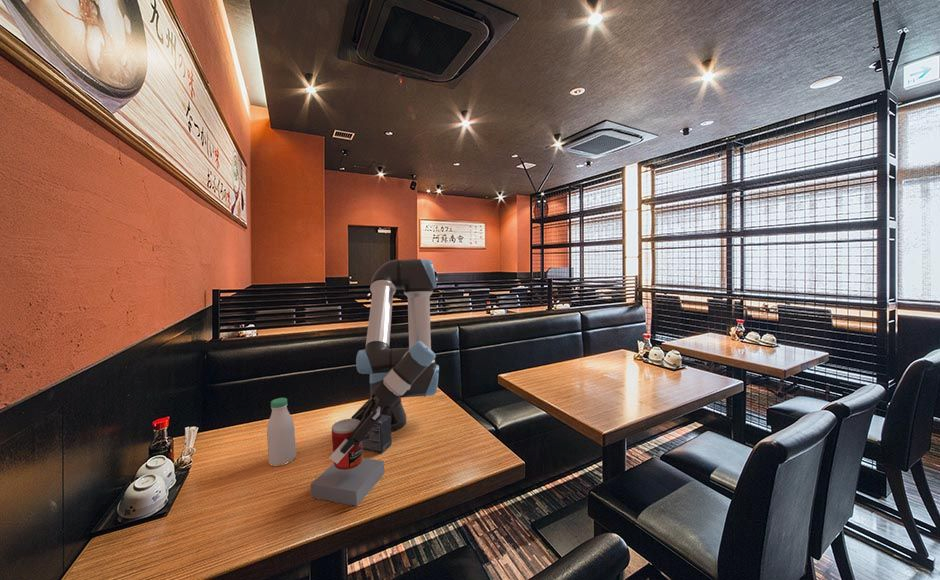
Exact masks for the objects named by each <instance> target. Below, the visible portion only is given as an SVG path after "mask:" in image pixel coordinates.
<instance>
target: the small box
mask: <svg viewBox="0 0 940 580" xmlns="http://www.w3.org/2000/svg"><path fill="white" fill-rule="evenodd" d="M392 443H393V442H392V432H391V416H388V415H382V417H381V418H380V419H379V420H378V421H377V422H376V423H375V424H374V426H373V427H372V428H371V429H370V431H369V432H368V433H367V434H366V436H365V437H364V438H363V439H362V449H363V451H368V452H373V453H377V454H383V453H384V452H385V451H387V450H388V449H389V447H391V446H392V445H393V444H392Z"/></svg>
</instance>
